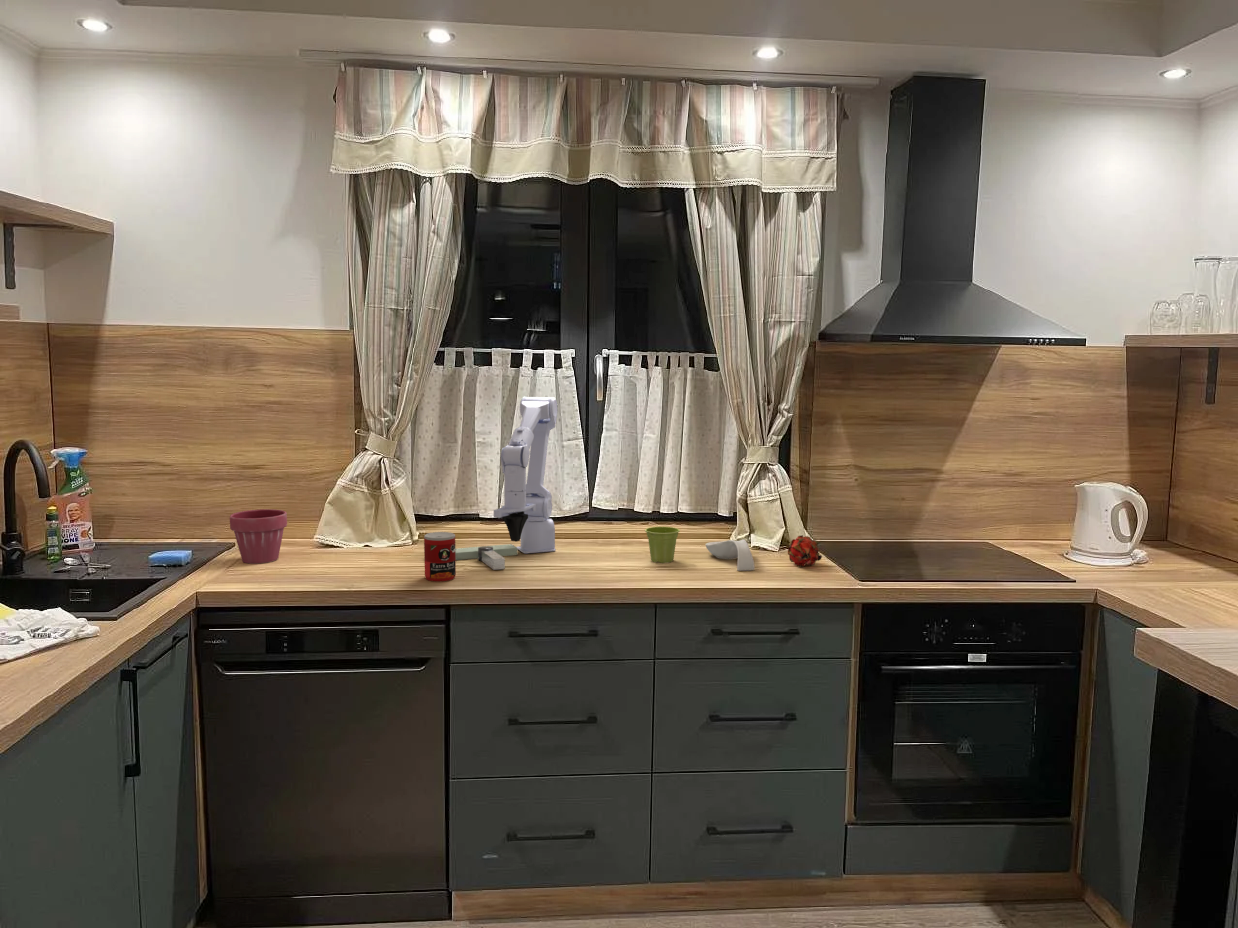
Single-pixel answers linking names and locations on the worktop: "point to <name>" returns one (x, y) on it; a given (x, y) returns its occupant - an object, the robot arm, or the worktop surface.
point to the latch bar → (491, 558)
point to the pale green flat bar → (473, 551)
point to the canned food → (440, 556)
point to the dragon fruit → (803, 551)
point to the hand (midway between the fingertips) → (515, 540)
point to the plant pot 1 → (259, 534)
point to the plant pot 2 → (662, 543)
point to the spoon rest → (733, 553)
